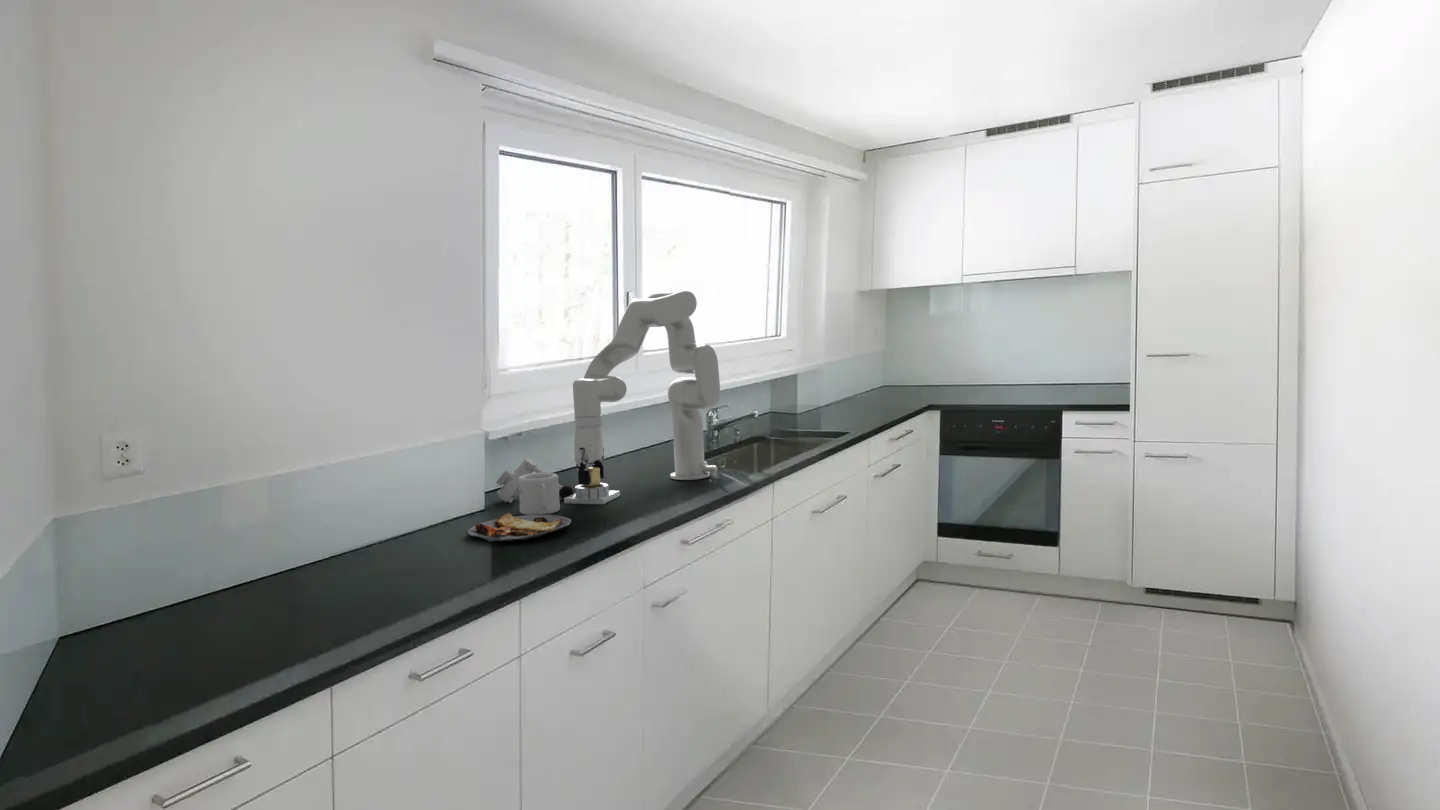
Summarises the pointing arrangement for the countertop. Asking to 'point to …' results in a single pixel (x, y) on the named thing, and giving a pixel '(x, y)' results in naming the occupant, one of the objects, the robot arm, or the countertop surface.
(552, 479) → the mug
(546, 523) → the food plate
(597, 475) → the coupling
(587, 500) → the flange plate
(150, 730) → the countertop surface
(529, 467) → the valve
